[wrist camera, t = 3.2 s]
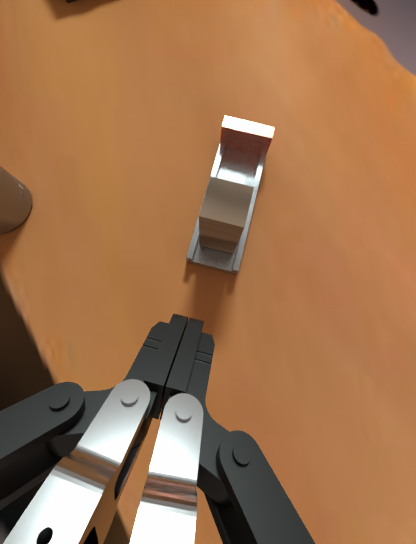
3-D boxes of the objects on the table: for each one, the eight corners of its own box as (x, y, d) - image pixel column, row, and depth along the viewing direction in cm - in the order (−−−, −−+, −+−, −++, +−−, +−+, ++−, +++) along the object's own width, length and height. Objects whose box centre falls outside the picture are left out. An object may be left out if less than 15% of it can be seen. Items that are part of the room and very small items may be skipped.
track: (236, 274, 34) (242, 266, 29) (186, 262, 34) (184, 251, 29) (265, 152, 39) (274, 127, 34) (222, 141, 39) (225, 115, 35)
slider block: (233, 253, 33) (244, 227, 24) (199, 245, 33) (198, 216, 25) (240, 222, 34) (254, 186, 26) (208, 214, 35) (210, 176, 26)
